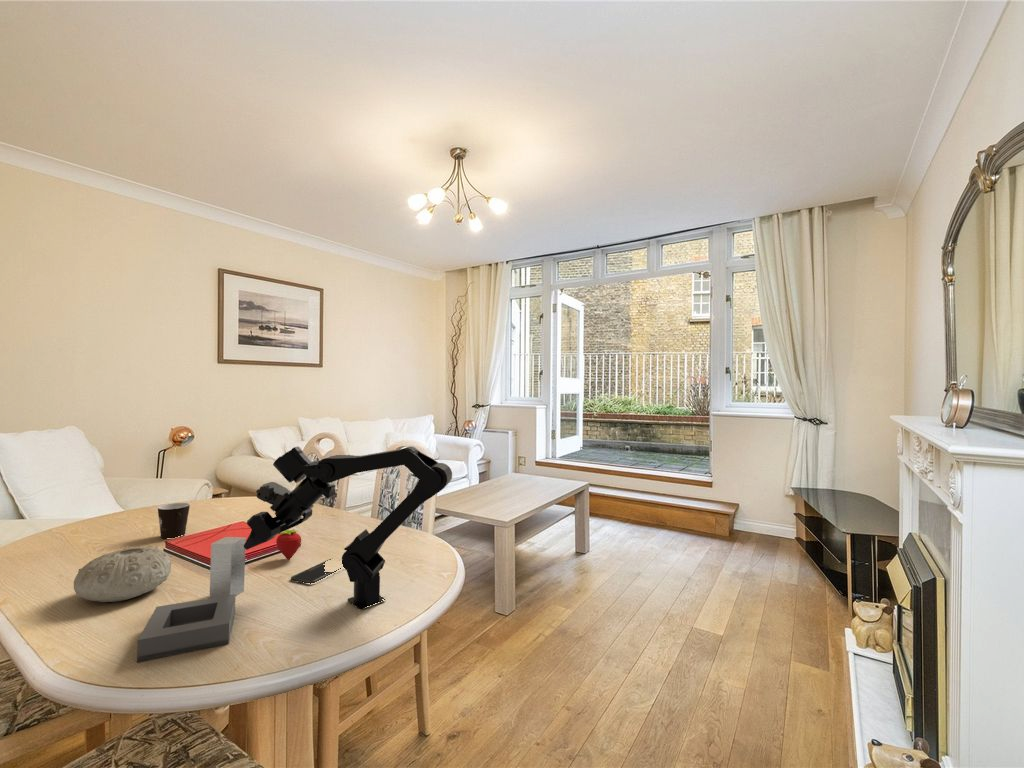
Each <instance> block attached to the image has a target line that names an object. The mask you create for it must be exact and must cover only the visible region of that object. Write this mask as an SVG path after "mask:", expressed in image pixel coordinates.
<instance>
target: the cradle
mask: <svg viewBox="0 0 1024 768" xmlns="http://www.w3.org/2000/svg"><path fill="white" fill-rule="evenodd" d="M236 598H237V596H236V594H232V595H226V596H220V597H214V598H210V597H209V598H208V597H207V598H202V599H196V600H189V601H185V602H184V601H183V602H177V603H172V604H165V605H159V606H156V607H155V609H154V610H153V613H152V614H151V615H150V618H149V620H148V621H147V623H146V625H145V626H144V628H143V630H142V632H141V633H140V635H139V637H138V639H137V648H136V649H137V650H136V651H137V653H136V663H141V662H146V661H152V660H156V659H160V658H166V657H171V656H177V655H180V654H187V653H191V652H196V651H201V650H206V649H210V648H217V647H221V646H226V645H229V644H230V639H231V634H232V631H233V625H234V618H235V615H236V600H237V599H236Z"/></svg>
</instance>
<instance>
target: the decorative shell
mask: <svg viewBox="0 0 1024 768" xmlns="http://www.w3.org/2000/svg"><path fill="white" fill-rule="evenodd" d="M171 571H172V559H171V558H170V557H169V555H168V554H167V552H166V551H164V550H162V549H160V548H159V547H158V546H155V547H152V546H131V547H127V548H124V547H123V548H122V549H118V550H116V551H112V552H109V553H105V554H102V555H100V556H98V557H95V558H94V559H92V560H90V561H89V562H88V563H86V564H85V565H83V566H82V567H81V568H78V572H77V574H76V575H75V578H74V580H73V590H74V593H75V594H76V595H77V597H79V598H81V599H83V600H87V601H90V602H91V601H92V602H99V603H109V602H110V603H111V602H112V603H113V602H122V601H126V600H129V599H133V598H135V597H138V596H141V595H143V594H146V593H148V592H151V591H153V590H155V589H156V588H157V587H160V585H162V584H163V583H164V582H166V580H168V577H169V576H170V573H171Z"/></svg>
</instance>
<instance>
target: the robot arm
mask: <svg viewBox="0 0 1024 768" xmlns="http://www.w3.org/2000/svg"><path fill="white" fill-rule="evenodd" d="M272 465H273V467H274V469H276V470H277V472H279V474H281V475H282V476H283V478H284V479H285V480H286V481H287V482H288V483H292V482H294V483H296V484H297V483H299V482H300V481H301V482H300V483H299V484H297V485H296V486H295V488H294V489H292V490H289V488H287V487H285V486H283V485H281V484H279V483H278V482H275V481H270V482H267V483H263V484H262V485H260V487H259V488H258V489H257V490H256V498H257V499H259V500H260V501H262V502H264V503H265V502H266V503H268V504H270V507H269V509H270V510H271V511H272V512H274V514H275V516H274V517H273V516H272V515H271V513H270V512H269V511H260V512H257V513H255V514H254V515H252V516H251V517H249V519H248V520H247V521H246V524H247V526H248V527H249V528H250V529H251V531H250V533H249V534H248V537H247V539H246V542H245V544H244V548H245V551H246V550H247V551H248V550H250V549H253V548H255V547H257V546H259V545H262V544H264V543H267V542H269V541H271V540H272V539H274V538H275V537H276V536H278V534H279V533H282V532H285V531H286V530H291V529H292V528H294V527H297V526H299V525H300V524H302V523H304V522H305V521H307V520H309V519H310V517H312V515H313V507H314V504H315V503H316V502H318V500H319V499H320V498H322V496H324V498H326V499H330V498H333V497H334V496H336V490H335V487H336V485H335V484H331V483H333V482H335V481H340V480H342V479H344V478H347V477H350V476H352V475H355V474H358V473H364V472H370V471H371V472H372V471H377V470H381V469H387V468H393V467H399V466H404V467H405V468H407V469H408V470H409V472H411V474H412V475H413V476H414V477H416V479H418V481H417V482H416V484H415V486H414V487H413V490H412V491H411V492H410V493H409V494H408V495H406V497H405V498H404V499H403V500H402V501H401V502H400V504H398V505H397V506H396V507H395V508H394V509H393V510H392V511H391V512H390V513H389V514H388V516H387V515H386V517H385V518H384V519H383V520H382V521H381V522H380V524H379V525H377V527H375V529H373V530H372V531H371V532H370V533H369V530H368V529H364V530H363V531H361V532H360V533H359V534H358V535H356V536H355V538H354V539H353V541H352V542H350V543H349V544H347V546H345V547H344V548H343V550H344V552H343V554H342V555H341V560H342V564H343V567H344V568H345V570H346V572H347V573H346V574H347V577H348V579H349V581H350V582H351V583H353V596H352V597H348V598H346V599H347V602H348V603H349V602H350V603H349V604H351V605H352V604H353V605H354V606H353V605H352V606H353V607H355V606H356V607H357V608H356V607H355V608H356V609H358V610H359V609H362V610H364V609H363V608H365V607H367V606H370V605H373V604H375V603H378V602H381V601H383V600H382V599H384V598H385V597H383V596H382V595H380V594H381V593H380V589H381V588H380V587H381V585H380V584H381V576H380V575H381V573H380V572H381V570H382V569H383V568H384V567H385V563H386V560H385V558H384V557H383V556H382V555H381V554H380V553H379V551H380V549H381V548H382V547H383V545H384V544H385V542H386V540H387V539H388V538H390V537H391V535H392V534H393V533H394V532H395V531H397V529H399V527H400V526H401V525H402V524H403V523H405V521H407V519H408V518H409V517H411V515H412V514H413V513H414V512H415V511H416V510H417V509H418V508H419V507H420V506H421V505H422V504H424V503H425V502H426V501H428V500H429V499H431V498H433V497H434V496H436V495H437V494H439V493H440V492H441V491H442V490H444V489H445V487H447V486H448V485H449V484H450V482H451V481H452V479H453V472H452V469H451V467H450V466H449V465H448V464H446V463H444V462H439V461H437V460H435V459H434V458H432V457H431V456H429V455H426V454H424V452H421V451H420V450H419V449H417V448H416V447H414V446H407V447H403V448H400V449H393V450H387V451H381V452H375V453H370V454H369V453H368V454H364V455H363V454H362V455H351V454H335V455H331V456H329V457H325V458H322V459H321V460H316V461H313V462H312V461H311V460H310V458H309V457H308V456H307V455H306V454H305V453H304V452H303V449H302V448H301V447H300V446H293V447H292V449H290V450H289V451H287V452H285V453H283V455H281V456H279V457H277V458H276V459H275V461H273V464H272ZM279 535H280V534H279ZM381 596H382V597H381ZM384 600H385V601H386V598H385V599H384ZM365 609H366V608H365Z"/></svg>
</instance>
